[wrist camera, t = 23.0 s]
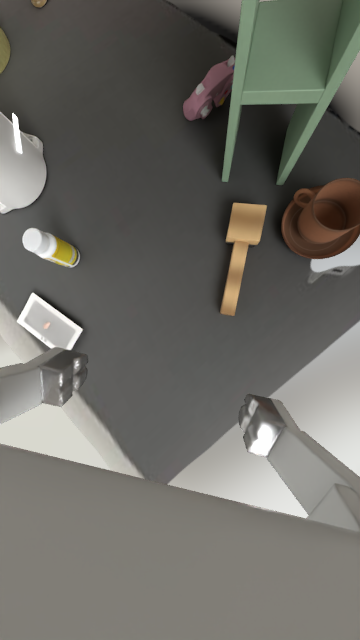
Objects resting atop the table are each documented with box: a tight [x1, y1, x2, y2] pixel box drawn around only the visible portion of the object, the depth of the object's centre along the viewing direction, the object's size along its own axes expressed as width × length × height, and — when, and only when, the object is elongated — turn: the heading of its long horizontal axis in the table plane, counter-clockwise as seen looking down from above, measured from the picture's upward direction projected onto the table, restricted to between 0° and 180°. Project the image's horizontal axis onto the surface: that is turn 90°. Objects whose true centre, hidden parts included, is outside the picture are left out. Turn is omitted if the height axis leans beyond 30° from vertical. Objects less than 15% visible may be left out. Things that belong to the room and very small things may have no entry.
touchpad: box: [17, 293, 83, 350], centre depth 36 cm, size 8×15×2 cm, turn 57°
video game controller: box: [183, 55, 235, 121], centre depth 29 cm, size 10×5×7 cm, turn 124°
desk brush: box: [220, 203, 267, 316], centre depth 30 cm, size 19×6×3 cm, turn 169°
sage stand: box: [222, 0, 360, 185], centre depth 18 cm, size 10×11×26 cm
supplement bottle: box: [23, 228, 80, 268], centre depth 33 cm, size 5×5×8 cm
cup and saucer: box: [281, 178, 360, 259], centre depth 26 cm, size 12×12×6 cm
